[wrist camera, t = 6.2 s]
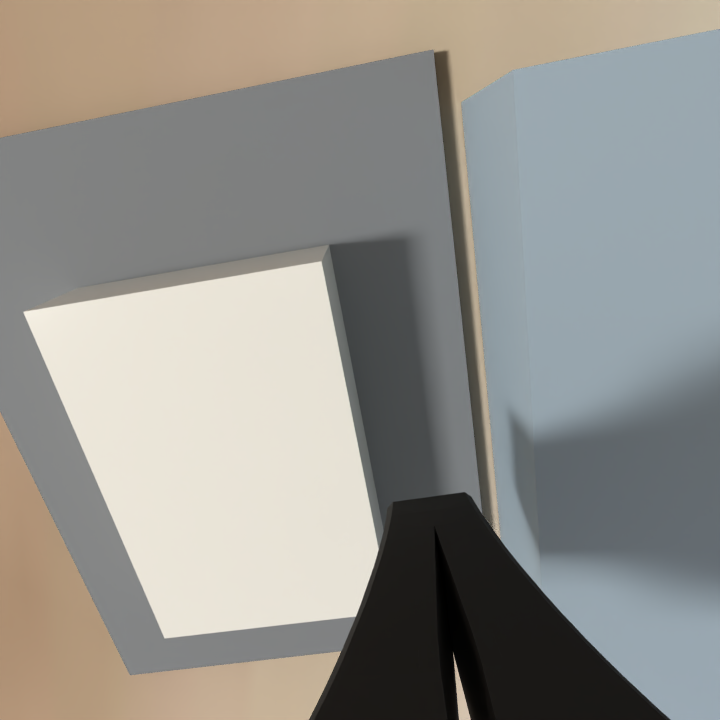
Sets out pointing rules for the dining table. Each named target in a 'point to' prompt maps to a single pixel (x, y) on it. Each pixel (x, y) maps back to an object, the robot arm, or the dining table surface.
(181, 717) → the dining table surface
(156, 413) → the tile
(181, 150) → the mat
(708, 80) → the plate
